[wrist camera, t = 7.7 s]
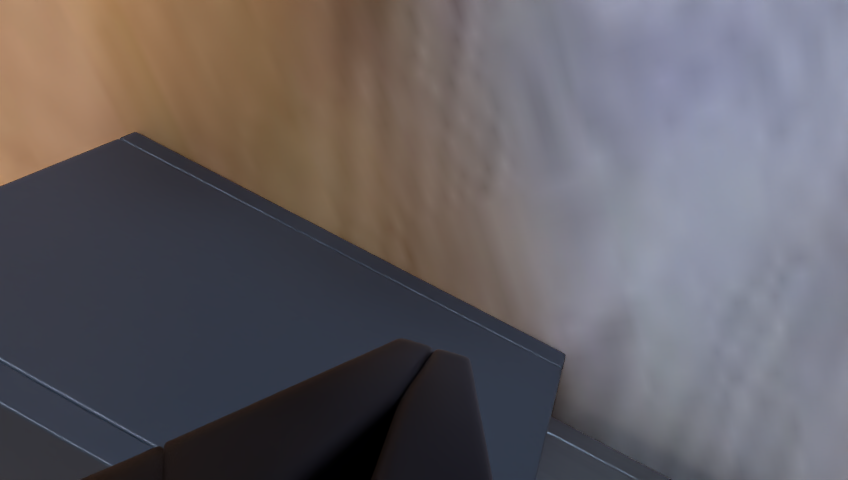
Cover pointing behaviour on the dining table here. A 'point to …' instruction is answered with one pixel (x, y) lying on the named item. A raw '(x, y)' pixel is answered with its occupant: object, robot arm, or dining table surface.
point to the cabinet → (208, 315)
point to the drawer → (586, 458)
